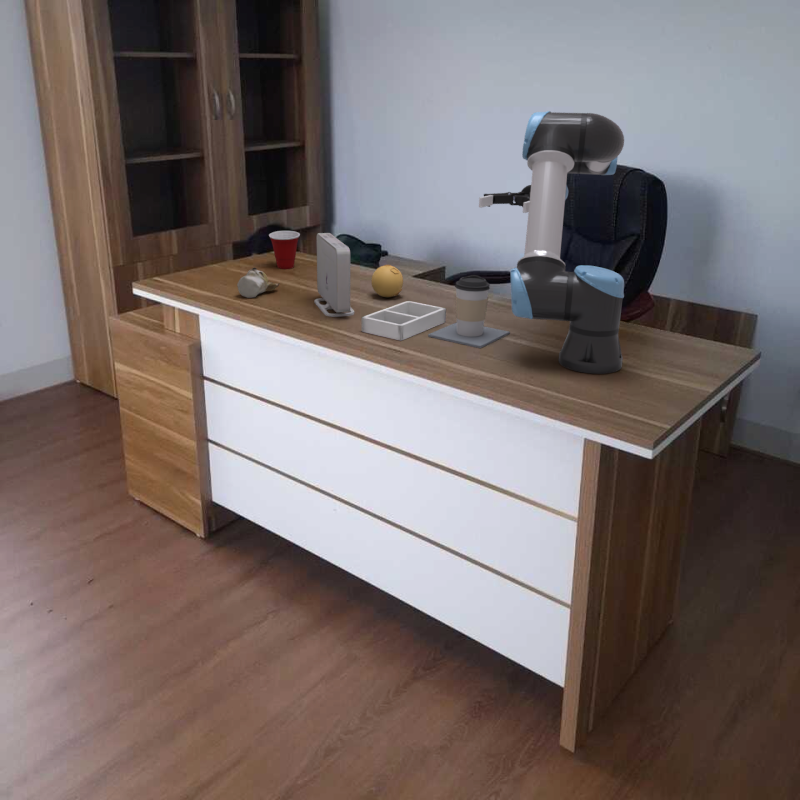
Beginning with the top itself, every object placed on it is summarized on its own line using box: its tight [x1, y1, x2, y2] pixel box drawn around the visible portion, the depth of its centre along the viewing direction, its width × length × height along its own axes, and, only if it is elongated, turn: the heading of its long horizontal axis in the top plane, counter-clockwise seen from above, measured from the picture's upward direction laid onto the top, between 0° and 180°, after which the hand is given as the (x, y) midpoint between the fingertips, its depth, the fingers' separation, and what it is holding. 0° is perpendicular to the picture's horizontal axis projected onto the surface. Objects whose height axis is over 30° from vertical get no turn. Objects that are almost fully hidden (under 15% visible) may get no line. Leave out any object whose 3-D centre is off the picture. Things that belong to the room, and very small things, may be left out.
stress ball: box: [371, 264, 404, 298], centre depth 254 cm, size 10×10×10 cm
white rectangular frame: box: [361, 300, 447, 341], centre depth 225 cm, size 13×22×4 cm, turn 145°
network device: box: [314, 232, 355, 318], centre depth 239 cm, size 26×9×20 cm, turn 18°
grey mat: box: [427, 321, 511, 349], centre depth 220 cm, size 16×16×1 cm
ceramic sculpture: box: [236, 267, 280, 299], centre depth 254 cm, size 11×9×15 cm
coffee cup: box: [455, 274, 491, 337], centre depth 217 cm, size 9×9×15 cm
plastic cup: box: [268, 230, 301, 270], centre depth 289 cm, size 11×11×12 cm
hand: (501, 205), depth 224 cm, fingers open, 13 cm apart
